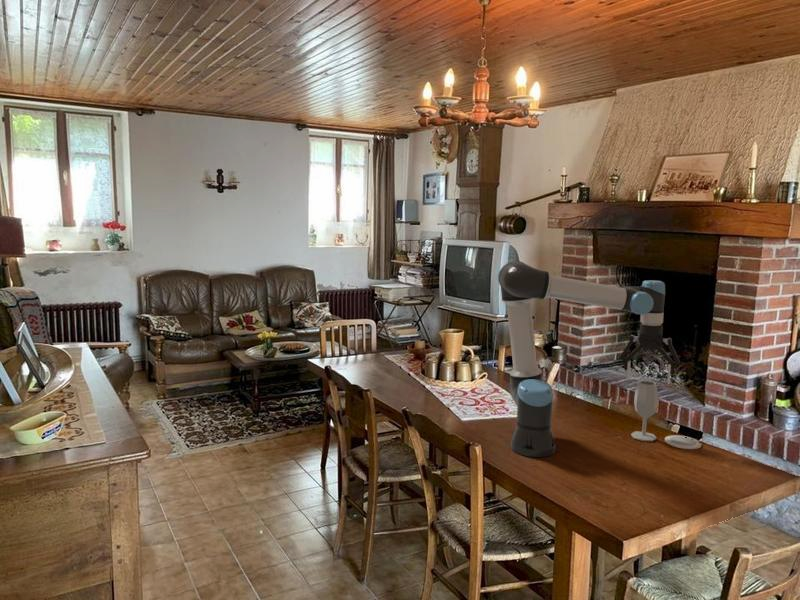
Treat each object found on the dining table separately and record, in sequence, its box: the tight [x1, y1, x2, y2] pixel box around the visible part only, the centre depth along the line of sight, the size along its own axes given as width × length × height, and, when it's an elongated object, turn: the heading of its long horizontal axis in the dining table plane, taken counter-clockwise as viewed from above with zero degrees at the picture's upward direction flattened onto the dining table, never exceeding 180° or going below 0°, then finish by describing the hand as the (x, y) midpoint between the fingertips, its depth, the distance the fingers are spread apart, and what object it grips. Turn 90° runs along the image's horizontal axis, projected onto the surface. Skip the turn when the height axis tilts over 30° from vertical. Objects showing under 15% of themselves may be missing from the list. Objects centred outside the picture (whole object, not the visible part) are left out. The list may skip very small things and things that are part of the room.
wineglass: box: [630, 379, 659, 443], centre depth 219 cm, size 9×9×21 cm
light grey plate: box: [664, 434, 702, 450], centre depth 215 cm, size 12×12×1 cm
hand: (648, 381), depth 217 cm, fingers open, 13 cm apart
